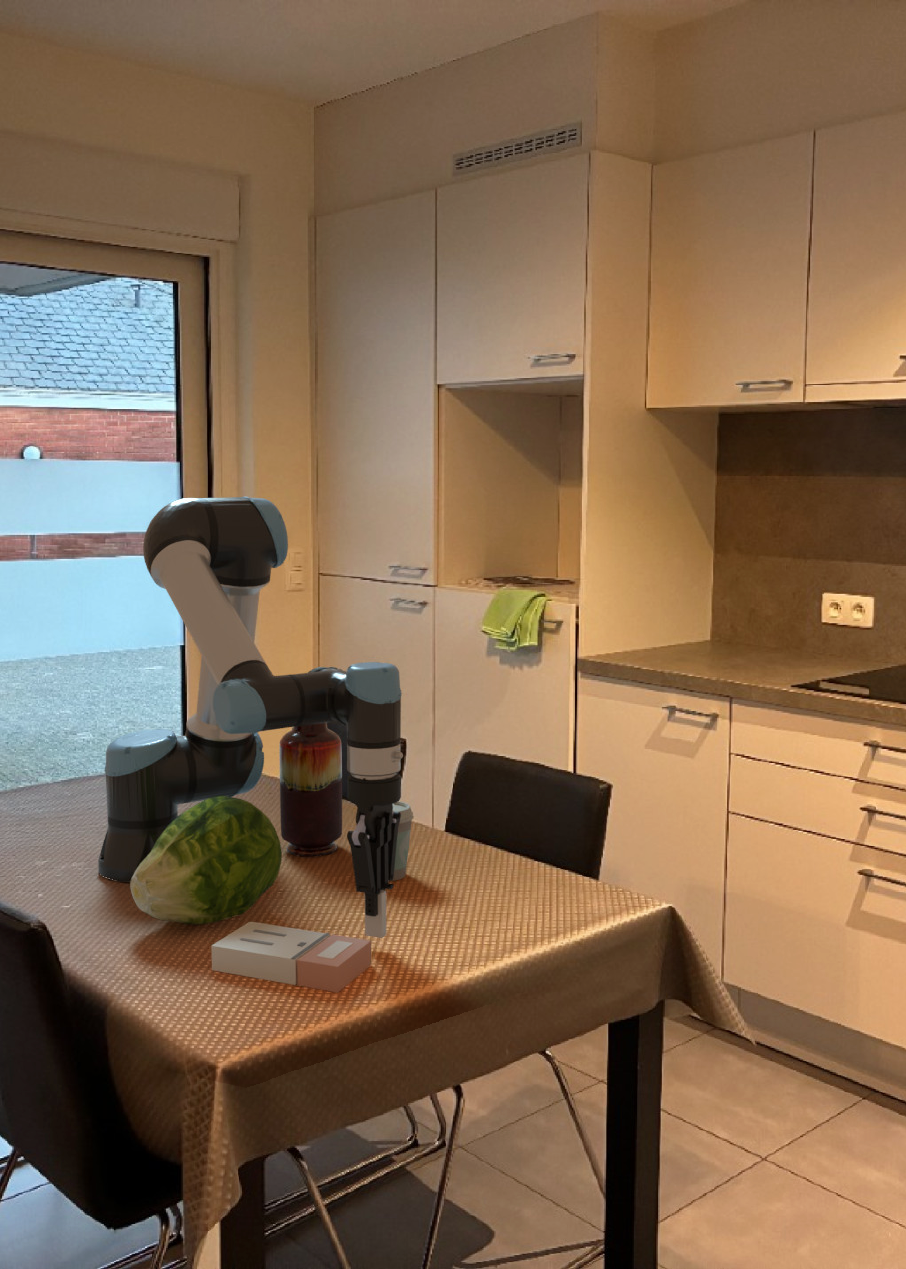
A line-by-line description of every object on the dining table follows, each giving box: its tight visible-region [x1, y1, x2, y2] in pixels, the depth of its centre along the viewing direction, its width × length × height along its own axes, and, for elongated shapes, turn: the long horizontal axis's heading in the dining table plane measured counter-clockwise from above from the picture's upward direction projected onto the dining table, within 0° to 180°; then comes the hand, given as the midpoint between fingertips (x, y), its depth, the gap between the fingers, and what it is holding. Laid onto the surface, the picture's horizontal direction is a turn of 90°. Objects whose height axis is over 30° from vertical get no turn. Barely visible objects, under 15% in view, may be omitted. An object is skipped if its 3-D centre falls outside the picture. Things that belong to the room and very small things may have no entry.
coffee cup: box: [389, 800, 414, 882], centre depth 210 cm, size 8×8×12 cm
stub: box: [297, 933, 372, 993], centre depth 169 cm, size 6×10×4 cm, turn 158°
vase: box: [278, 723, 343, 858], centre depth 224 cm, size 11×11×26 cm
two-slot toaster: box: [210, 921, 332, 986], centre depth 172 cm, size 13×10×4 cm
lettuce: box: [129, 796, 283, 926], centre depth 189 cm, size 19×23×18 cm
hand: (375, 934), depth 178 cm, fingers closed
